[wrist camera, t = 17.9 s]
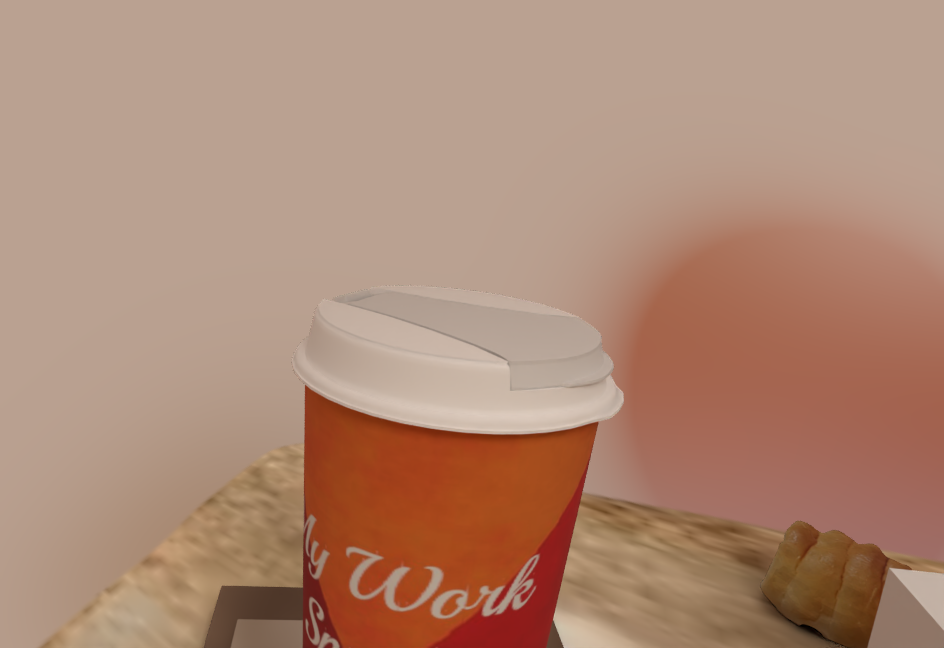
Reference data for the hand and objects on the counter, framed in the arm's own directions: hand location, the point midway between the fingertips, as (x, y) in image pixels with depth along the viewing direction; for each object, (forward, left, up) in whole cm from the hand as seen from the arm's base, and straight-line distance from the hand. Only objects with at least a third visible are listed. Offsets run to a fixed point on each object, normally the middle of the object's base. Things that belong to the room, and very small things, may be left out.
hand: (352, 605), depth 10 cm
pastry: (-26, -22, -15) cm, 37 cm away
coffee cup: (-3, -10, -14) cm, 17 cm away
